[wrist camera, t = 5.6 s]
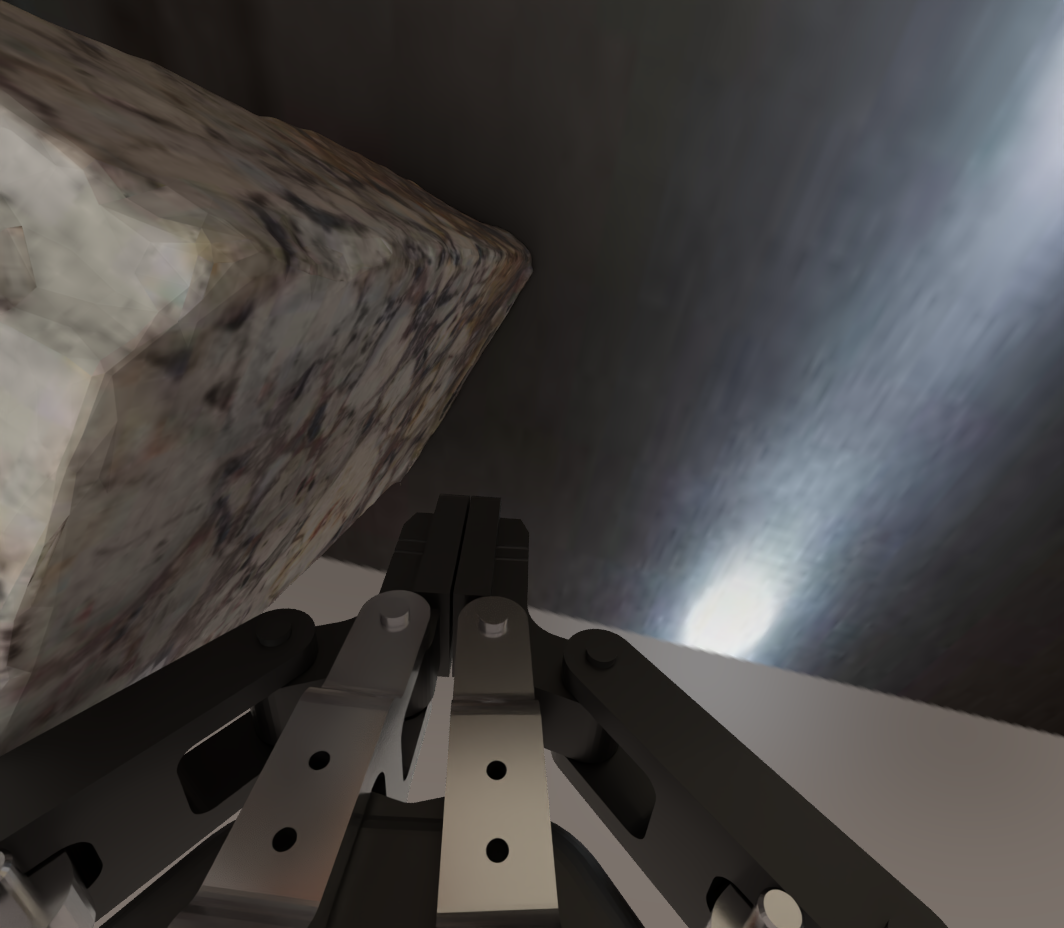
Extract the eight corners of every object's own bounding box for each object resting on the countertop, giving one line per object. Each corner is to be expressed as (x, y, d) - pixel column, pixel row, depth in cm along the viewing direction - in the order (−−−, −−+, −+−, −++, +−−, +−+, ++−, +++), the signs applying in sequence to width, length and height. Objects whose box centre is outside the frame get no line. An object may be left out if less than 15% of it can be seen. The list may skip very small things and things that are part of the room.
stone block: (422, 511, 27) (-75, 1012, 9) (299, 434, 27) (-453, 768, 9) (562, 256, 22) (109, 155, 4) (412, 163, 23) (-741, -371, 4)
